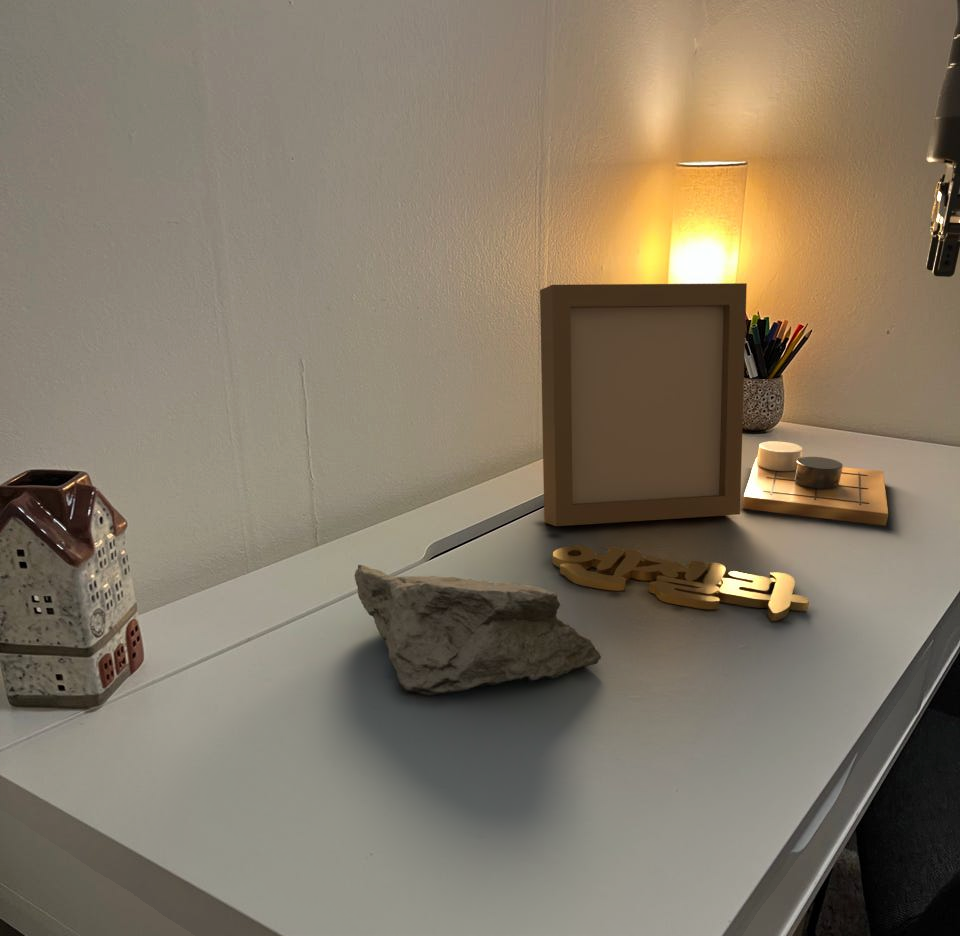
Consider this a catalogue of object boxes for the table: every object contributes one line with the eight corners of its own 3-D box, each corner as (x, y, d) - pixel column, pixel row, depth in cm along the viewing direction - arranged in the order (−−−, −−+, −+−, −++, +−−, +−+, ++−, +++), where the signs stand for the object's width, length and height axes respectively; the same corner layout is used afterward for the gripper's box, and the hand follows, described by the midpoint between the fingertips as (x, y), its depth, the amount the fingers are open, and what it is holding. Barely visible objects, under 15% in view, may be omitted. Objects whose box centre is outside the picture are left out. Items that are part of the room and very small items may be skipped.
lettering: (534, 579, 92) (534, 570, 92) (566, 545, 100) (567, 537, 100) (803, 626, 84) (804, 617, 83) (813, 585, 92) (815, 576, 92)
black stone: (839, 479, 119) (843, 459, 118) (839, 491, 115) (842, 471, 114) (794, 474, 121) (797, 454, 120) (792, 486, 116) (795, 465, 115)
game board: (881, 482, 124) (883, 470, 123) (885, 526, 109) (888, 512, 108) (754, 468, 128) (756, 457, 128) (741, 508, 113) (743, 495, 112)
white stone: (800, 462, 126) (803, 443, 125) (798, 473, 121) (801, 454, 120) (758, 457, 127) (761, 439, 126) (754, 468, 123) (757, 449, 122)
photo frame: (738, 522, 108) (773, 289, 97) (555, 534, 104) (569, 291, 93) (684, 484, 121) (708, 274, 110) (519, 493, 117) (527, 275, 105)
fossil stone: (619, 653, 78) (616, 537, 73) (515, 744, 67) (504, 614, 62) (423, 610, 89) (410, 507, 84) (307, 681, 78) (285, 567, 74)
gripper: (1021, 110, 97) (982, 280, 104) (999, 118, 109) (966, 269, 117) (941, 111, 99) (908, 277, 106) (928, 118, 111) (900, 267, 119)
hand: (938, 273), depth 111 cm, fingers open, 8 cm apart
